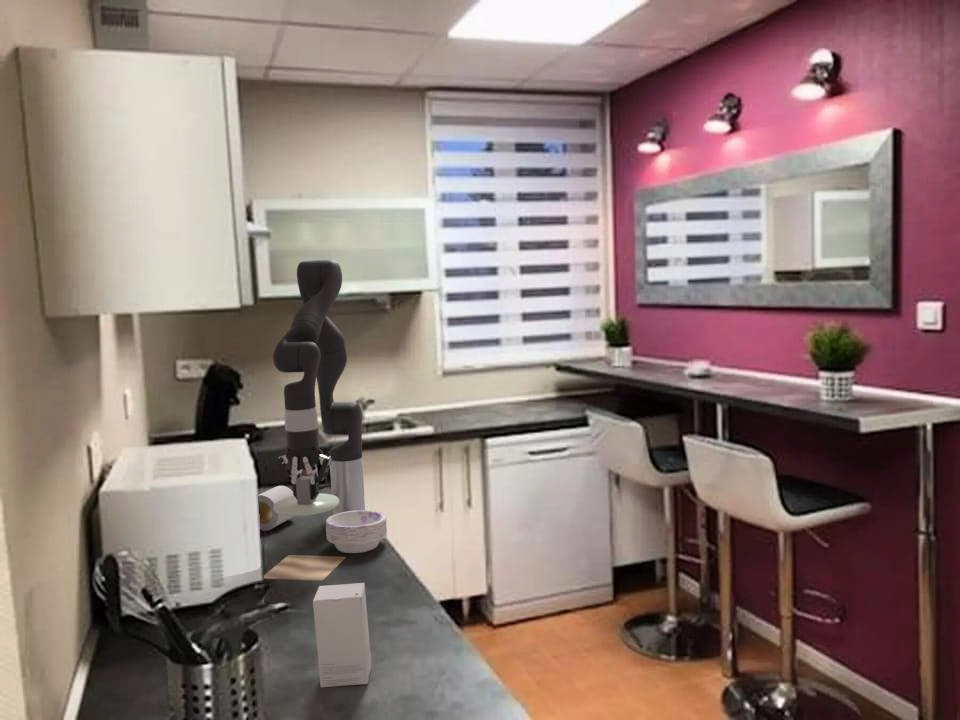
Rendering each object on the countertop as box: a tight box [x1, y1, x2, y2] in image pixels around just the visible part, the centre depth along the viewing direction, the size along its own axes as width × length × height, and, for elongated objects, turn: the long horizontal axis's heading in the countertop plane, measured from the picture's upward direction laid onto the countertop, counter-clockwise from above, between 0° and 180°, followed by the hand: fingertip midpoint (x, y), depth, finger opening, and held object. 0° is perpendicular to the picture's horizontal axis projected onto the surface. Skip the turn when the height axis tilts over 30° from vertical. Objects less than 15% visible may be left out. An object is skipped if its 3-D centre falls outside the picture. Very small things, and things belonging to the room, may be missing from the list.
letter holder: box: [301, 447, 331, 489], centre depth 269 cm, size 10×20×14 cm, turn 21°
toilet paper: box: [258, 485, 294, 532], centre depth 221 cm, size 10×10×10 cm
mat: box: [263, 554, 347, 582], centre depth 186 cm, size 15×15×1 cm
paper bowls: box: [325, 509, 388, 554], centre depth 199 cm, size 15×15×8 cm
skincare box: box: [312, 582, 372, 688], centre depth 134 cm, size 8×7×16 cm
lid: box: [274, 475, 339, 517], centre depth 186 cm, size 15×15×7 cm
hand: (306, 498), depth 186 cm, fingers closed on lid, 3 cm apart
